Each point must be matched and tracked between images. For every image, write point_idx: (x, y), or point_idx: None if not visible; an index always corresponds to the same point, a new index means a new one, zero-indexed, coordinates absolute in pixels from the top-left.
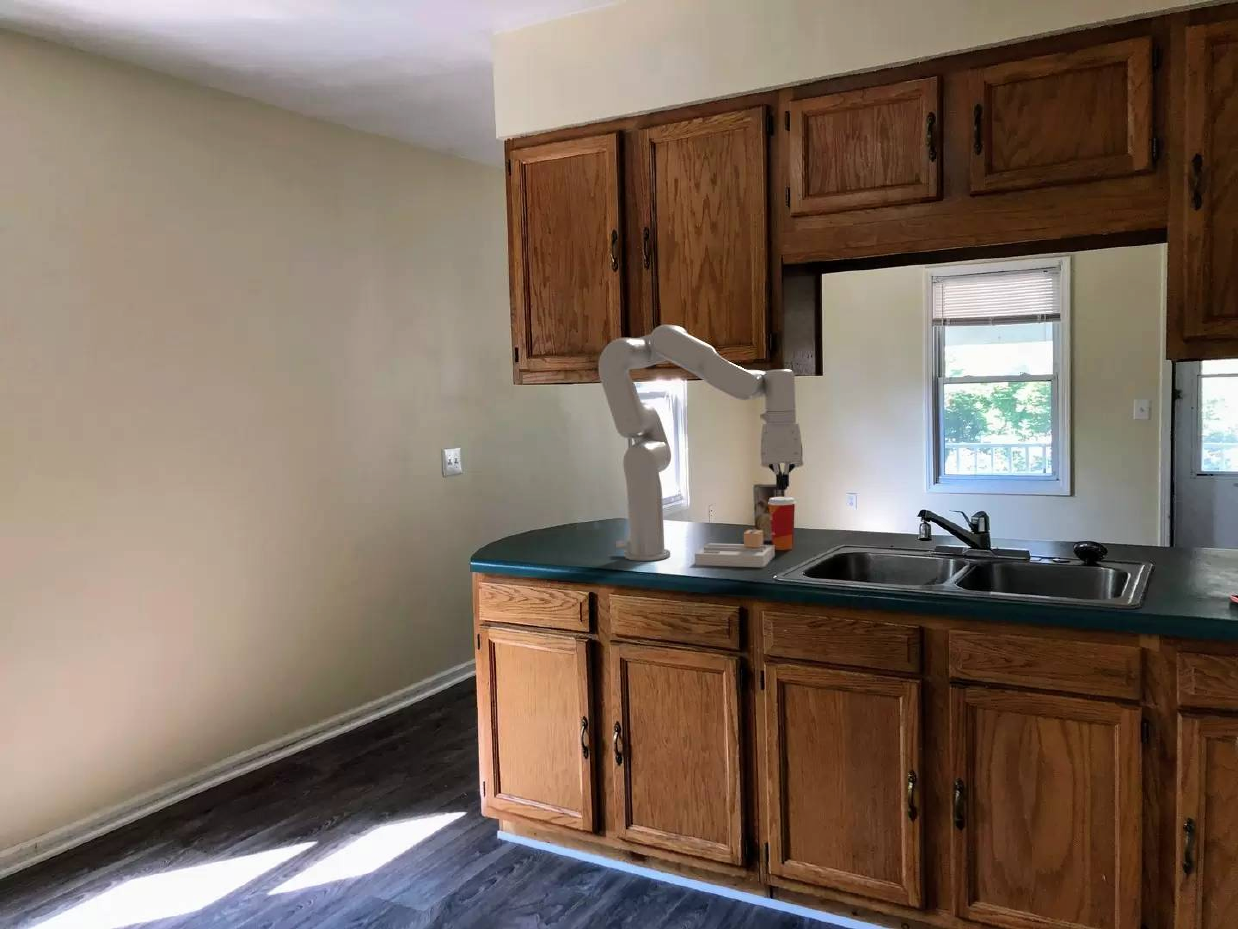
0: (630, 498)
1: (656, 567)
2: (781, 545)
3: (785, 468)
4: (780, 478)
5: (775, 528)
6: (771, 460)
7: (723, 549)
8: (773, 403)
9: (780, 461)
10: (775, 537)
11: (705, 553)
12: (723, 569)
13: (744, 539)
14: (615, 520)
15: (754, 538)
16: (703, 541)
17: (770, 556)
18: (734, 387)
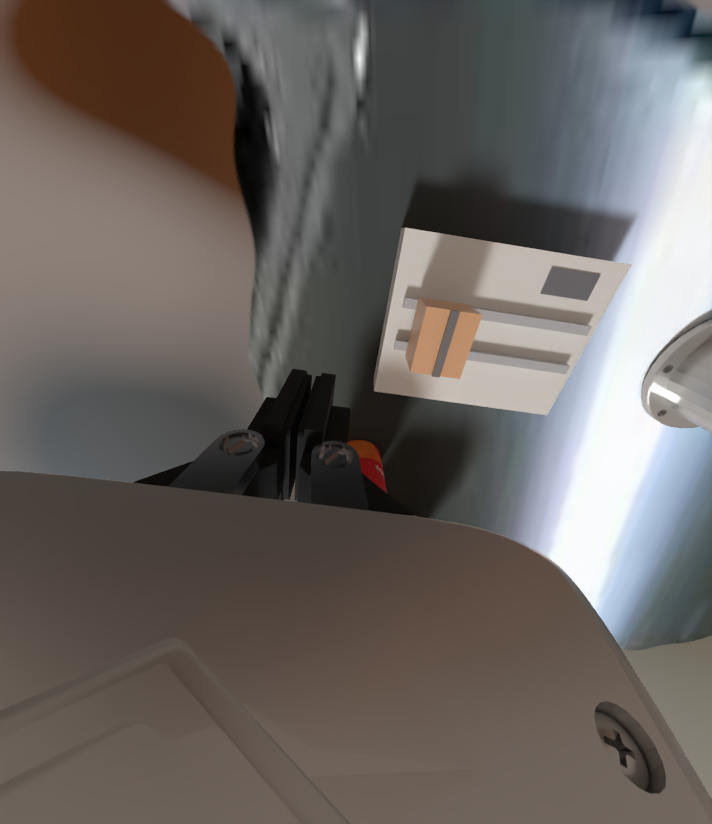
0: None
1: None
2: (360, 445)
3: (228, 470)
4: (308, 412)
5: (373, 474)
6: (394, 533)
7: (527, 316)
8: None
9: (230, 497)
10: (374, 460)
11: (595, 265)
12: (529, 190)
13: (472, 309)
14: (645, 644)
15: (439, 305)
16: (523, 514)
17: (383, 332)
18: None
